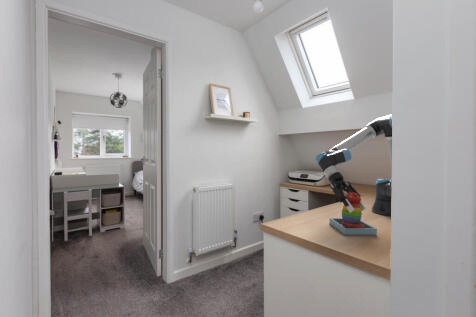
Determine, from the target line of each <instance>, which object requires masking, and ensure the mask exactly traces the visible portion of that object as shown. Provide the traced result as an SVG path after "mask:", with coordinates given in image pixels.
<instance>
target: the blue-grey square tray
mask: <svg viewBox="0 0 476 317" xmlns="http://www.w3.org/2000/svg"><path fill="white" fill-rule="evenodd" d="M342 221H343V219H342V217H337V218H336V217H329V222H328V223H329V225H330V226H331V227H333V228H334V229H335V230H336V231H338V232H339V233H340V234H342V235H343V236H344V237H377V236H378V229H377V228H376V227H374V226H372V225H370V224H369V223H367V222H365V221H363V220H360V223H361V224H362V225H364V226H365V228H348V227H345V226H343V225H342Z"/></svg>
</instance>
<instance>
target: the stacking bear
mask: <svg viewBox="0 0 476 317" xmlns="http://www.w3.org/2000/svg"><path fill="white" fill-rule="evenodd" d="M346 199H348V201H349V202H350V204H351V205H352V207H353V208H354V211H353V212H352V213H350V212H349V210H348V209H347V207H346V206H345V205H344V204H343V206H342V210H341V218H342V219H343V221H342V225H343V226H345V227H348V228H365V226H364V225H362V224H361V223H360V220H361V219H362V216H363V213H362V212H363V211H361V207H360V205H359V204H358V203H359V202H360V201H361V202H362V197H361V195H360V196H359V195H358V194H357V193H354V192H348V193H347V194H346V196H345V200H346ZM361 221H362V220H361Z"/></svg>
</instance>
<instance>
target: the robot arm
mask: <svg viewBox="0 0 476 317" xmlns="http://www.w3.org/2000/svg"><path fill="white" fill-rule="evenodd" d="M392 114H393V113H391V114H387V115H382V116H379V117H377V118H375V119H374V120H372V121H371V122H369V123H367V124H366V125H364V127H363V128H362V129H361V130H359V131H357V132H356V133H355V134H353V135H350V137H348V138H346V139H345V140H343V141H341V142H340V143H338V144H336V145H335V146H333V147H331V148H330V149H327V150H324V151H323V152H320V153H318V154H317V155H316V156H315V163H316V164H317V166H319V168H320V169H321V171H322V172H323V174H324V175H325V177H326V178H327V180H328V181H329V183H330V185H329V187H330V189H331V190H332V192H333V194H334V195H335V198H336V200H337V201H339V203H343V206H344V205H345V206H346V207H347V209H348V210H349V212H350V213H352V212H353V211H354V208H353V207H352V205H351V204H350V202H349V201H348V199H346V196H345V193H344V192H346V193H347V194H348V192H354V193H357V194H358V195H359V196H360V197H361V194H360V193H359V192H358V191H357V189H355V188H354V186H352V184H351V182H350V181H347V182H346V181H345V180H344V175H343V174H342V173H341V172H340V170H339V169H338V167H337V166H339V165H341V164H344V163H346V162H349V161H351V160H352V153H351V151H352V150H354V149H356V148H357V147H359V146H360V145H362V144H363V143H365V142H367V141H368V140H370V139H374V138H376V137H378V136H381V135H384V138H385V139H386V140H387V141H388V142H387V143H388V150H389V161H390V165H391V164H392ZM391 179H392V178H377V179H376V181H375V195H374V196H375V197H374V202H373V204H372V207H371V212H373V213H374V214H377V215H382V216H388V217H389V216H391ZM358 204H359V205H360V207H361V212H363V211H365V210H366V209H367V207H366V206H365V205H364V203H363V201H362V200H361V201H360V202H359V203H358Z"/></svg>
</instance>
